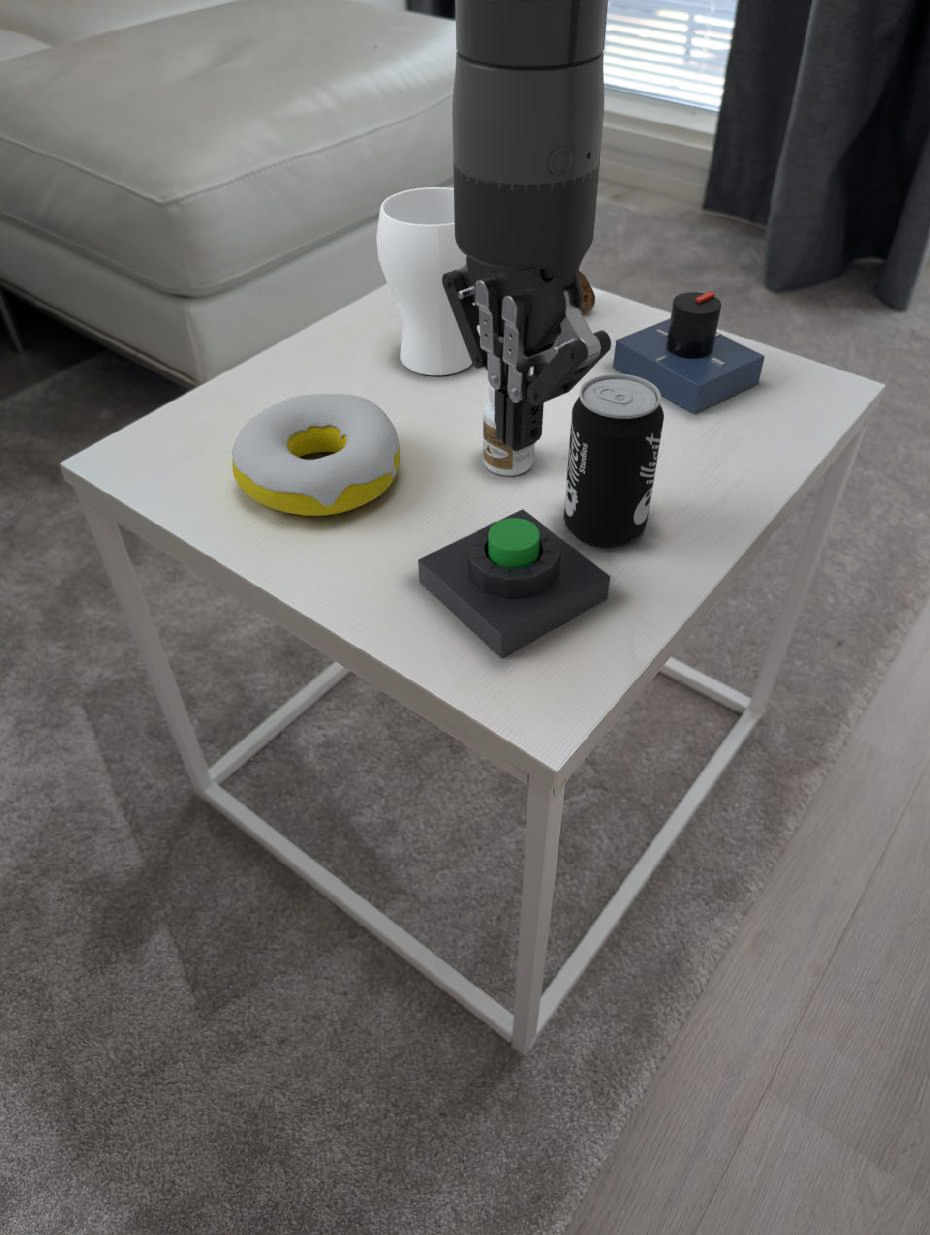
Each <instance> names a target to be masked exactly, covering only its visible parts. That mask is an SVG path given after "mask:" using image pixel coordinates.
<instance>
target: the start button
mask: <svg viewBox="0 0 930 1235" xmlns="http://www.w3.org/2000/svg"><path fill="white" fill-rule="evenodd" d="M500 520H501V519H500ZM497 521H498V522H497ZM497 521H496V522H497V523H495V524H494V525H493V526H492V527H491V528H490V530H489V550H488V552H489V557H490V558H491V560H492V561H493V562H494V563H495V564H497V565H499V566H503V567H507V568H510V569H511V568H522V567H527V566H529V565H531V564H533V563H534V562H535V561H536V560H537V558H538V555H539V542H540V532H539V530H538V528H537V527H536V526H535V525H534V524H533V523H531V522H529V521H527V520H524V519H518V518H509V519H504V520H501V521H499V520H497Z"/></svg>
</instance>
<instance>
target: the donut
mask: <svg viewBox="0 0 930 1235" xmlns="http://www.w3.org/2000/svg"><path fill="white" fill-rule="evenodd" d="M316 453H332V454H329V455H326V456H323V457H320V458H316V459H304V458H301V457H303V456H307V455H311V454H316ZM231 455H232V461H231V466H232V473H233V477H234V479H235V481H236V483H237V485H238V486H239V488H240V489H241V490H242V491H243V492H244V493H245V494H246V495H247V496H248V497H250V498H251V499H253V500H255V501H256V502H257V503H259V504H261V505H263V506H264V507H266V508H269V509H272V510H276V511H280V512H282V513H286V514H293V515H299V516H309V517H310V516H311V517H320V516H321V517H323V516H324V517H325V516H331V515H333V516H334V515H337V514H342V513H345V512H349V511H352V510H354V509H357V508H359V507H361V506H364V505H366V504H368V503H370V502H371V501H373V500H376V499H377V498H378V497H379V496H381V495H382V494H383V493H384V492H385V491H386V490H388V488H389V487H390V486H391V485H392V483H393V482H394V480H395V477H396V476H397V473H398V471H399V466H400V462H401V446H400V439H399V436H398V433H397V430H396V427H395V425H394V424H393V422H392V421H391V419H390V418H389V416H388V415H387V413H386V412H385V411H384V410H383V409H382V407H380V406H379V405H378V404H376V403H374V402H373V401H371V400H370V399H367V398H364V397H362V396H357V395H351V394H340V393H315V394H314V393H313V394H305V395H299V396H294V397H290V398H287V399H285V400H282V401H280V402H277V403H274V404H273V405H271V406H269V407H267V408H265V409H263V410H261V411H259V412H258V413H257V414H255V415H254V416H253V417H252V418H250V419H249V420H248V421H247V422H246V423H245V425H243V427H242V429H241V430H240V431H239V433H238V435H237V437H236V438H235V441H234V443H233V446H232V448H231Z"/></svg>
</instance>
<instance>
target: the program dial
mask: <svg viewBox="0 0 930 1235" xmlns="http://www.w3.org/2000/svg"><path fill="white" fill-rule="evenodd" d="M721 309H722V301H721V300H720V299H719V298H718V297H716V293H714V292H712V291H708V292H707V293H704V292H698V291H692V292H691V291H689V292H683V293H680V294H677V295H676V296H675V297H674V298H673V300H672V305H671V312H670V318H669V319H670V325H669V331H668V338H667V344H666V346H667V349H668V350H669V351H670V352H671V353H673V354H675V355H677V356H680V357H685V358H701V357H705V356H707V355H709V354H710V353H711V352H712V351H713V346H714V341H715V336H716V332H718V331H717V330H718V325H719V319H720V315H721Z"/></svg>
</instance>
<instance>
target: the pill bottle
mask: <svg viewBox="0 0 930 1235" xmlns="http://www.w3.org/2000/svg"><path fill="white" fill-rule="evenodd" d="M488 397H489V398H488V399H489V401H487V403H486V404H485V406H484V408H483V413H482V418H483V419H482V424H483V425H482V427H483V428H482V443H483V444H482V446H483V449H482V450H483V451H482V453H483V454H482V455H483V458H482V459H483V464H484V466H485V468H487V469H488V470H489V471H490V472H493V473H495V474H497V475H501V476H511V477H512V476H517V475H521V474H523V473H525V472H527V471H528V470H530V469H531V468H532V467H533V464H534V462H535V461H534V460H535V445H536V443H534V444H533V445H530V446H528V447H526V448H524V449H522V450H519V451H514V450H512V449H511V448H509V447H508V446H507V445H506V444H504V443H503V442H501V441H500V440H498V439H497V437H496V425H495V421H494V413H495V389H493V388H492V387H491V385H490V383H489V382H488Z"/></svg>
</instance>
